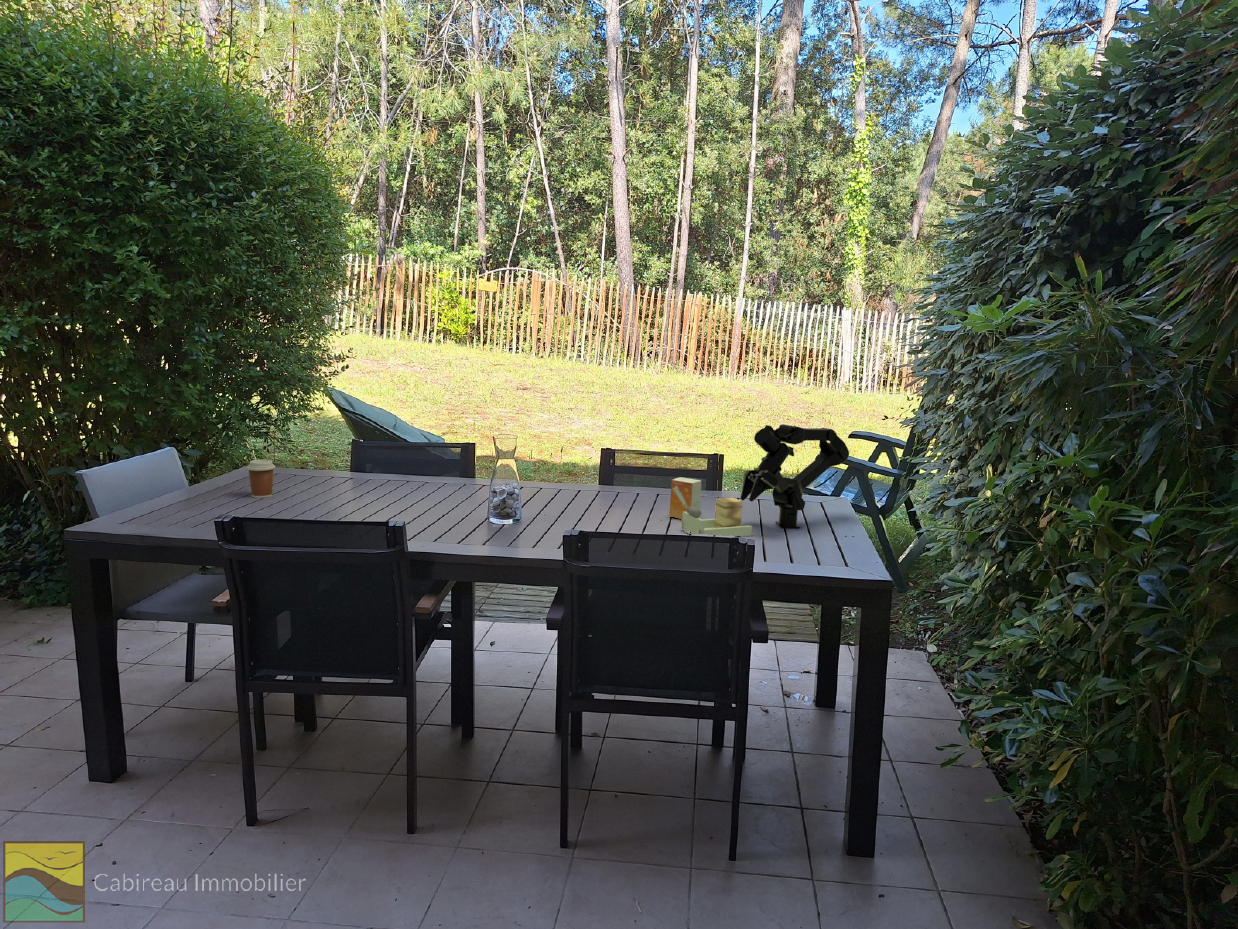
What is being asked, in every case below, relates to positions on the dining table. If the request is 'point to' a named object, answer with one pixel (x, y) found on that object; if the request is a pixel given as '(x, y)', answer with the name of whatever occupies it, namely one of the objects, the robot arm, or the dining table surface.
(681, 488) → the small box
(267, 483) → the coffee cup
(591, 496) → the dining table surface
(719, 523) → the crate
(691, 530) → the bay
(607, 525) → the dining table surface
